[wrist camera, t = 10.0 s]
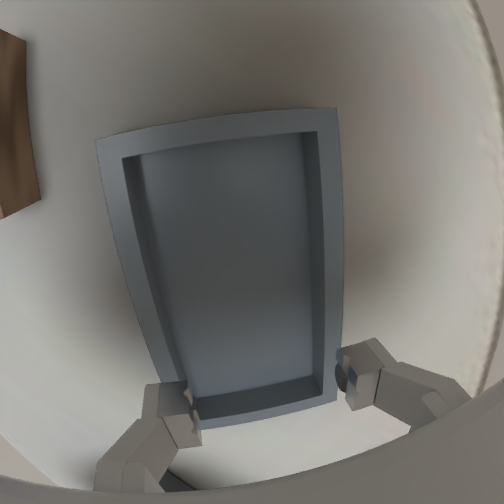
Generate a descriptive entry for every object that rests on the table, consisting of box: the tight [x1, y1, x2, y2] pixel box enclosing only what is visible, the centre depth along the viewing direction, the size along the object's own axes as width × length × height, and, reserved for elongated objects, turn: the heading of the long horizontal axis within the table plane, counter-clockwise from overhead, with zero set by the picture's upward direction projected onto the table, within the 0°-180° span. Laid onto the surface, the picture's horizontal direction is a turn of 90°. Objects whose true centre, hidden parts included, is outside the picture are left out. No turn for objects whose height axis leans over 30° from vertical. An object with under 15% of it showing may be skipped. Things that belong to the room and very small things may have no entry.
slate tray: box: [95, 108, 344, 430], centre depth 16 cm, size 17×10×2 cm, turn 7°
